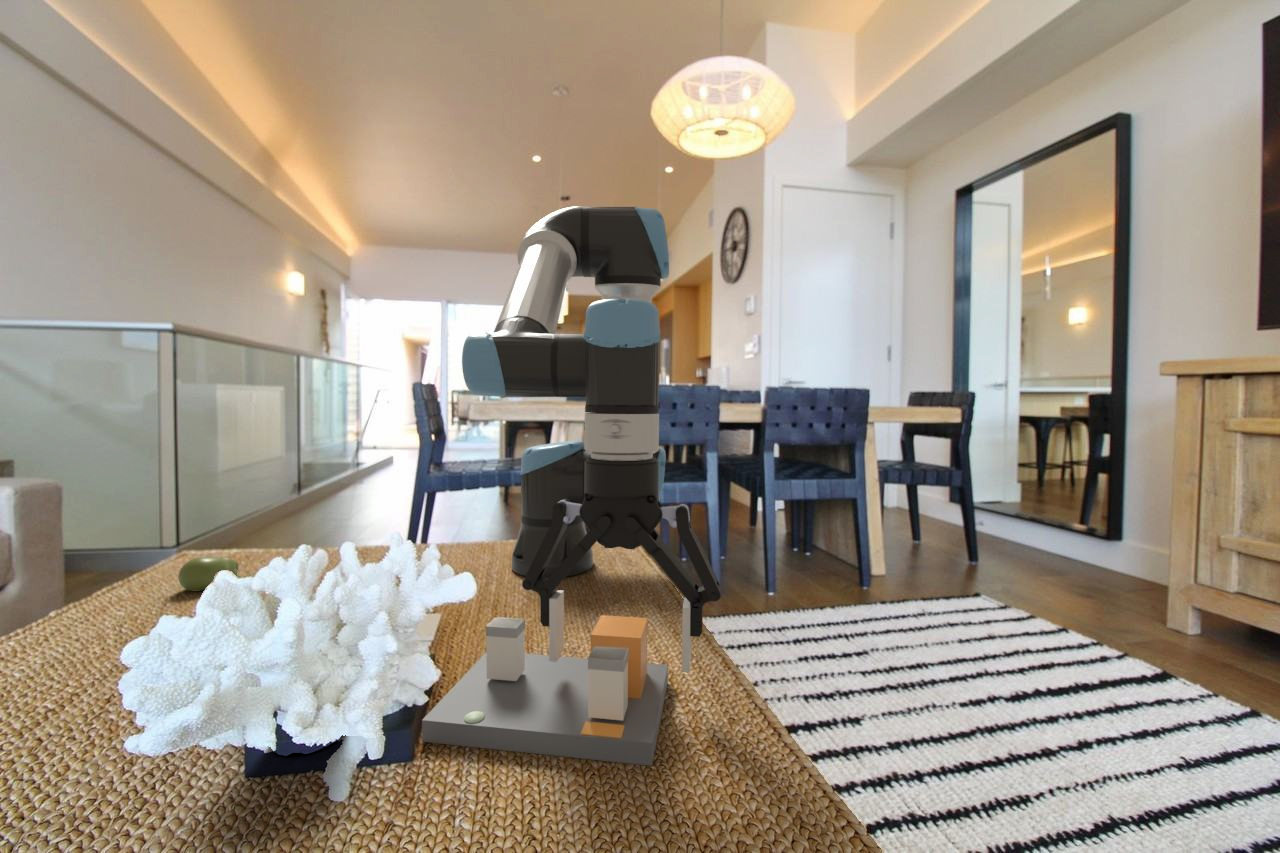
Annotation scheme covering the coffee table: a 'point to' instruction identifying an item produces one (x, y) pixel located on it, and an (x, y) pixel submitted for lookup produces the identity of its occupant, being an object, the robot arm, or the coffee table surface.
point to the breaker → (505, 648)
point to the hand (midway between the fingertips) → (620, 661)
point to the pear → (204, 571)
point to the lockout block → (626, 645)
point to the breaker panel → (547, 713)
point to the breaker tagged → (608, 682)
